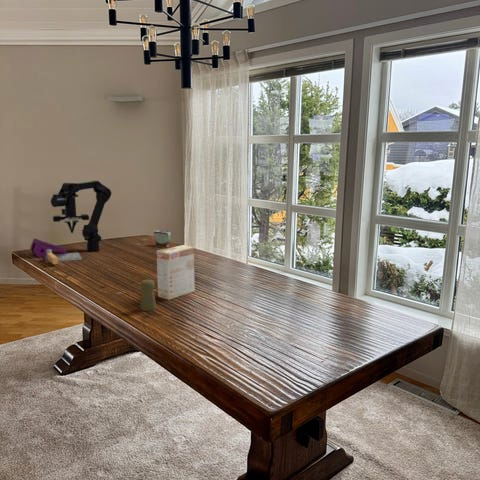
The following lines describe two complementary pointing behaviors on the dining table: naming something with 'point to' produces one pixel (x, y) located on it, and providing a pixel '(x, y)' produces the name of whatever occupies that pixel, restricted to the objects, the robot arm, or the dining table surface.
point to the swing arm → (51, 256)
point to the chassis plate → (66, 257)
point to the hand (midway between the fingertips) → (72, 232)
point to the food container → (162, 238)
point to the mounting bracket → (44, 248)
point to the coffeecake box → (175, 271)
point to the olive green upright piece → (147, 295)
